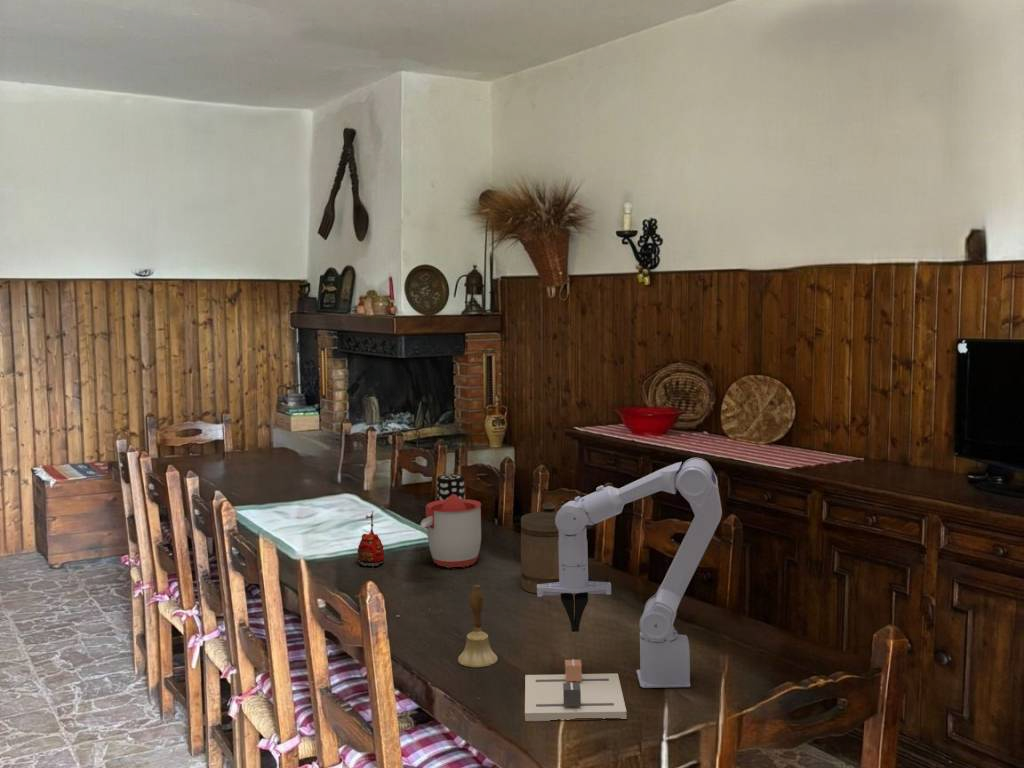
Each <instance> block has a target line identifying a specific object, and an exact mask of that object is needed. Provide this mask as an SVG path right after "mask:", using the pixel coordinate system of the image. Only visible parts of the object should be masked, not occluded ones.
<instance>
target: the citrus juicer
mask: <svg viewBox="0 0 1024 768" xmlns="http://www.w3.org/2000/svg"><path fill="white" fill-rule="evenodd" d="M481 508H482V503H481V502H480V501H479V500H475V499H466V498H465V499H459V498H458V497H457V496H456V495H455V494H452V495H451V496H450V497H449V498H448V499H446V500H439V501H438V500H435V501H431V502H428V503H427V504H426V505H425V518H423V519H422V520H421V522H420V527H421V528H423V529H425V528H427V541H428V546H429V550H430V554H431V559H432V561H433V563H434V564H435V563H436V564H438V565H440V566H446V567H462V568H466V567H465V566H467V567H470V566H469V565H472V564H473V565H475V564H476V563H475V562H477V560H478V557H479V553H480V549H481V544H482V543H481V542H482V513H481V512H482V509H481ZM474 563H475V564H474ZM473 565H472V566H473Z"/></svg>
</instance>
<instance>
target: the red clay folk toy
mask: <svg viewBox="0 0 1024 768" xmlns="http://www.w3.org/2000/svg"><path fill="white" fill-rule="evenodd" d="M365 519H366V520H368V519H370V521H371V524H370V527H371V528H370V532H369V533H363V534H362V535H361V539H360V541H359V544H358V549H357V554H358V557H357V559H358V561H359V560H360V562H363V563H380V562H382V561H383V562H384V561H385V550H384V545H383V543H382V540H381V538H380V537H379V535H378V534H375V533H374V530H373V527H374V510H372V511H371V514H370V516H369V515H365Z"/></svg>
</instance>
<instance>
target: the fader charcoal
mask: <svg viewBox="0 0 1024 768" xmlns="http://www.w3.org/2000/svg"><path fill="white" fill-rule="evenodd" d="M563 700H564V706H581V690H580V683H563Z"/></svg>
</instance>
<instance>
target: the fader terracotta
mask: <svg viewBox="0 0 1024 768" xmlns="http://www.w3.org/2000/svg"><path fill="white" fill-rule="evenodd" d="M564 661H565V662H564V670H565V673H564V674H565V675H566V681H582V674H583V672H582V671H583V669H582V660H581V659H574V658H573V659H565V660H564Z"/></svg>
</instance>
